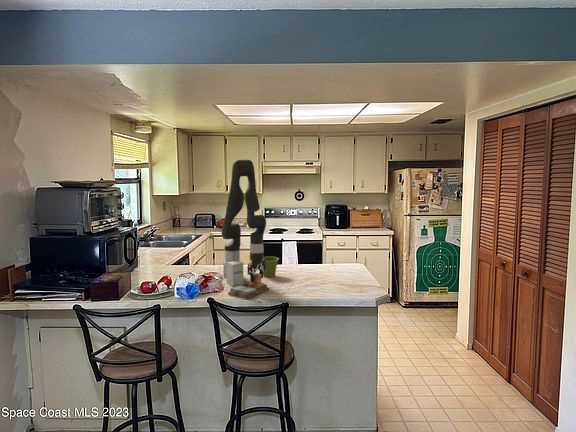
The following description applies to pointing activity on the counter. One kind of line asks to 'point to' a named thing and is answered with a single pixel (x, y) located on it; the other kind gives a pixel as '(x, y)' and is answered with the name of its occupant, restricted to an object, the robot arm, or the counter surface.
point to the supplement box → (235, 273)
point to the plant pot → (270, 266)
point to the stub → (256, 281)
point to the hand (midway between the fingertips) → (256, 280)
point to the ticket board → (259, 291)
